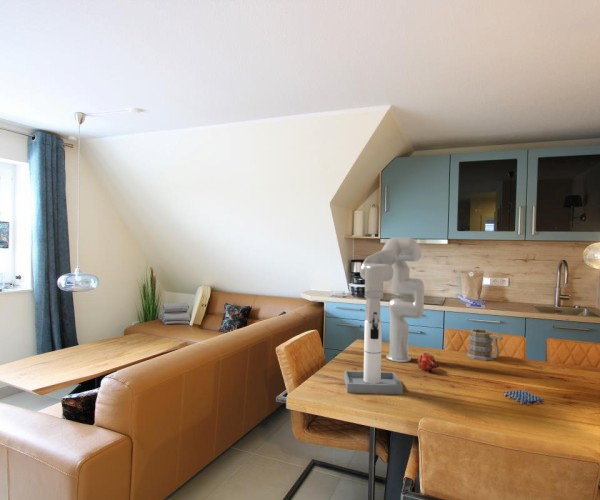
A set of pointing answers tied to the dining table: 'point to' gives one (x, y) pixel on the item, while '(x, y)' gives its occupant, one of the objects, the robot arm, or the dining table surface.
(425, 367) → the dragon fruit
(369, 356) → the cylindrical container
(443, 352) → the dining table surface
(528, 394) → the woven mat
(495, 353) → the tankard
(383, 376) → the tray
